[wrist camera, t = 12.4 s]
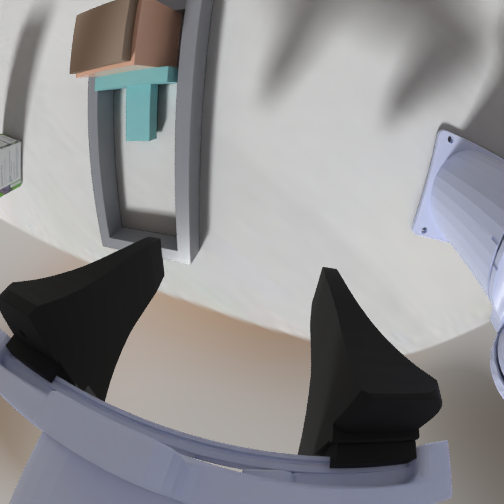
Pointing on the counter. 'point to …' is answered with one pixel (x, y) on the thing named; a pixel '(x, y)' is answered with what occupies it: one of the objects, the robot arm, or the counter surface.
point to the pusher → (139, 97)
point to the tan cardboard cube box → (125, 38)
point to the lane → (186, 144)
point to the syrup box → (9, 164)
